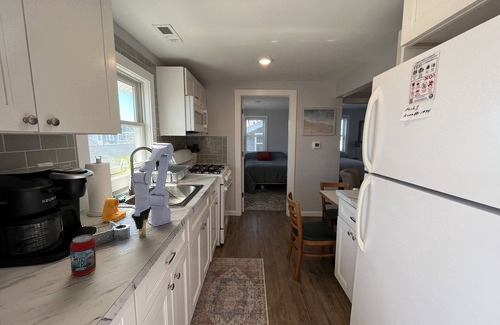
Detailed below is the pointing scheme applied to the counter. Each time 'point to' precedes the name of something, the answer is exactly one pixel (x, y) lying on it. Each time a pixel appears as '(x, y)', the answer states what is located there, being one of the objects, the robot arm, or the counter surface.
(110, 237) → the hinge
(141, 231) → the hinge pin
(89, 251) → the beverage can
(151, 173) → the robot arm
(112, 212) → the bracket
